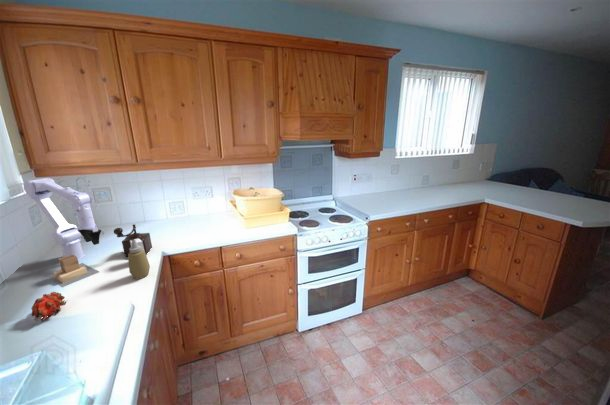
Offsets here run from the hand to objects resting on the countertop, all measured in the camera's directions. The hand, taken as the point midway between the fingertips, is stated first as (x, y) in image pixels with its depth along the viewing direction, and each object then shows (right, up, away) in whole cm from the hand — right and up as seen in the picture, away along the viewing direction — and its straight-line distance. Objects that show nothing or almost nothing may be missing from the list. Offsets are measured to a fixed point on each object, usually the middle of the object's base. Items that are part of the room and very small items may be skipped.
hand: (92, 242), depth 131 cm
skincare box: (+24, -10, +1) cm, 26 cm away
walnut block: (0, -10, -12) cm, 16 cm away
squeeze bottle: (+32, -14, -11) cm, 36 cm away
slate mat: (-1, -14, -10) cm, 17 cm away
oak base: (-1, -13, -11) cm, 18 cm away
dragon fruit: (+14, -21, -36) cm, 44 cm away
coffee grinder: (+16, -8, +9) cm, 20 cm away
